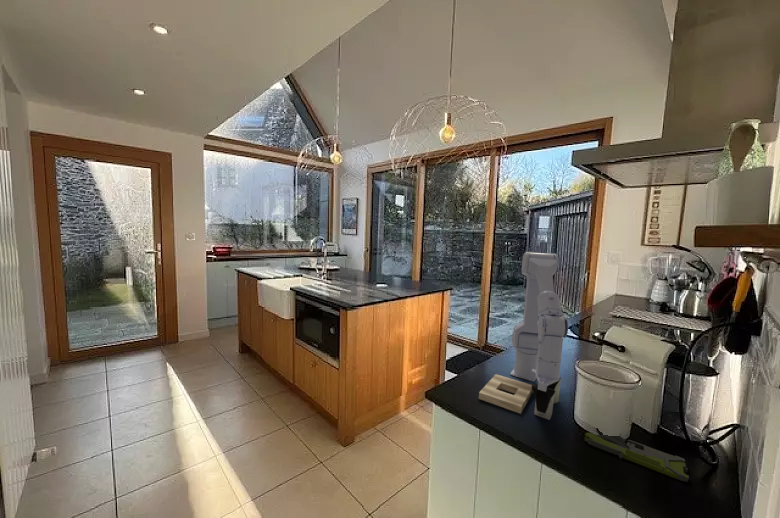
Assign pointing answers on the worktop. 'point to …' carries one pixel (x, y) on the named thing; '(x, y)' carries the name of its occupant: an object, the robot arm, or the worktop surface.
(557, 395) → the round peg
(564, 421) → the worktop surface
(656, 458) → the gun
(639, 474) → the worktop surface
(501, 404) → the socket board
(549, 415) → the square peg
